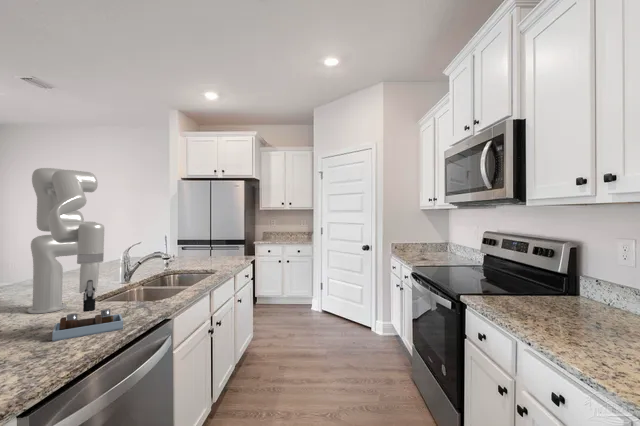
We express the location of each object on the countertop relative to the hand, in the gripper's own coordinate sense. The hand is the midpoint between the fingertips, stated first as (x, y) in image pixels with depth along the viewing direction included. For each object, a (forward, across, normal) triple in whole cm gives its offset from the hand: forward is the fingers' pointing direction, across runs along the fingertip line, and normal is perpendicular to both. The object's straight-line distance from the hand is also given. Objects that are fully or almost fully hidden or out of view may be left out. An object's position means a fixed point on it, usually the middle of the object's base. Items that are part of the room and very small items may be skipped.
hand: (88, 307), depth 111 cm
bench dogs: (+8, -7, 0) cm, 11 cm away
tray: (+8, +1, 0) cm, 8 cm away
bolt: (+8, +1, 0) cm, 8 cm away
